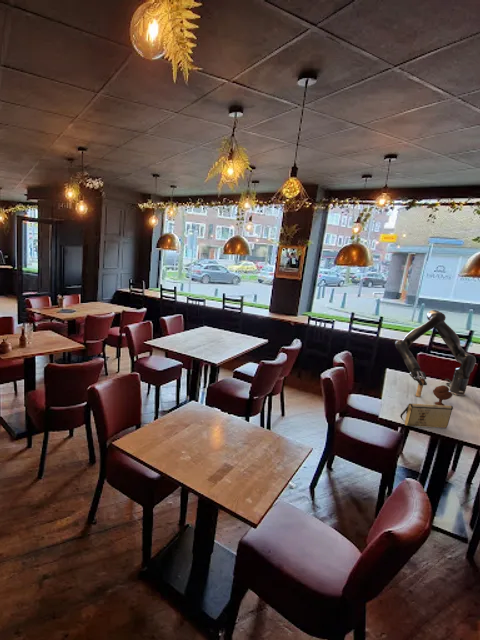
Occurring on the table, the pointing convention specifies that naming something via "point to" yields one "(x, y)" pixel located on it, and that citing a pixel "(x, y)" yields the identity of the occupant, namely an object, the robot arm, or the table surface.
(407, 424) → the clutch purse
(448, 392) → the ice cream bowl
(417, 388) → the stirring stick
